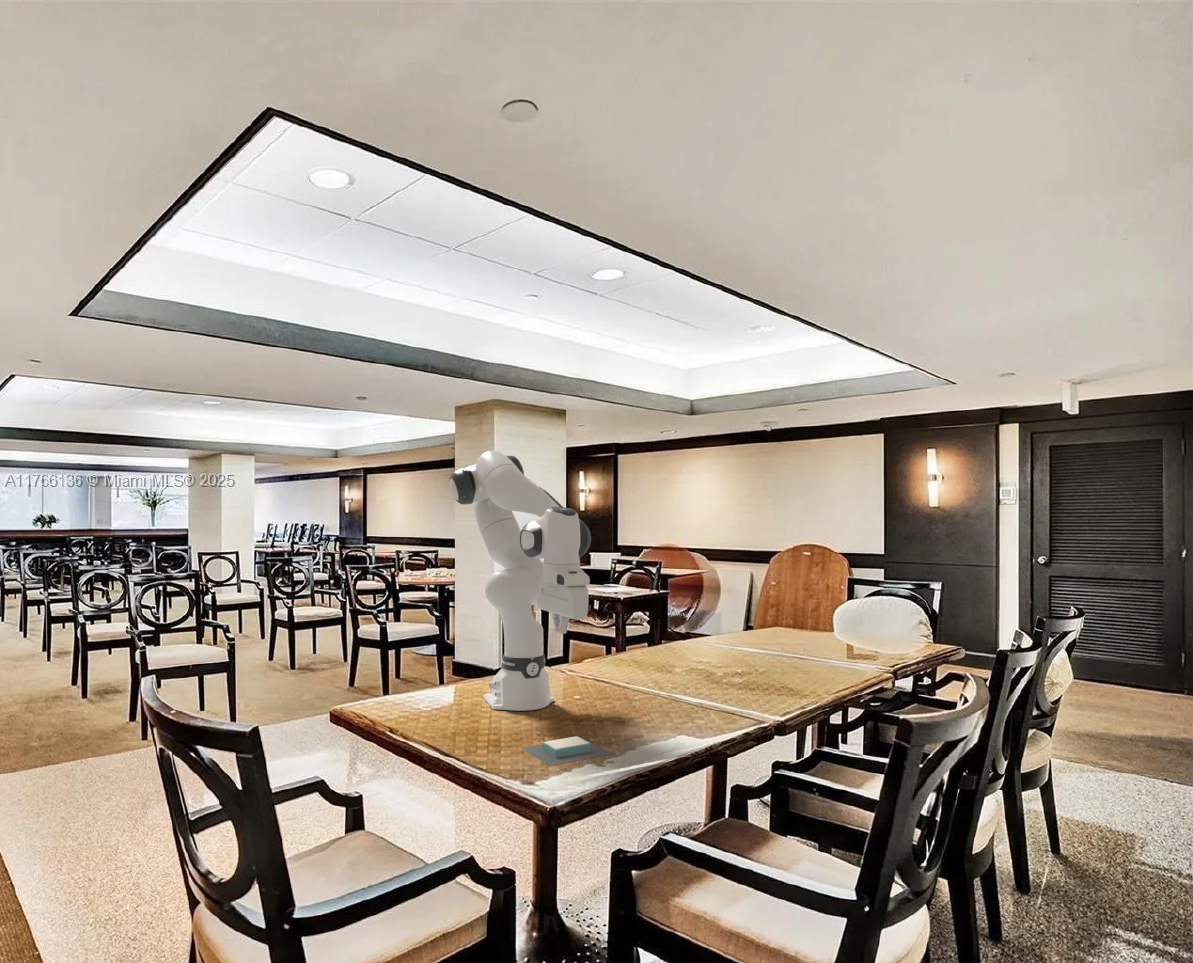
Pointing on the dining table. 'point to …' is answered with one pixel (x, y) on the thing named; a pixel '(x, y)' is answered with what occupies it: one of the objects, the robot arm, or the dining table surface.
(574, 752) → the box
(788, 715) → the dining table surface
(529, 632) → the robot arm
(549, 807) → the dining table surface
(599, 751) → the mat
